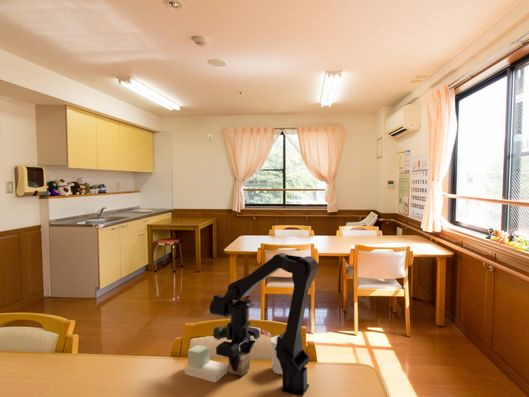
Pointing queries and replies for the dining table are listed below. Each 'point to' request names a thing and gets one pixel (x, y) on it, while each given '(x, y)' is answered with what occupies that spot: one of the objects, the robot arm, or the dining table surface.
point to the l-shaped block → (204, 365)
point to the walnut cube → (241, 365)
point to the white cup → (275, 361)
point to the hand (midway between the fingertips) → (239, 367)
